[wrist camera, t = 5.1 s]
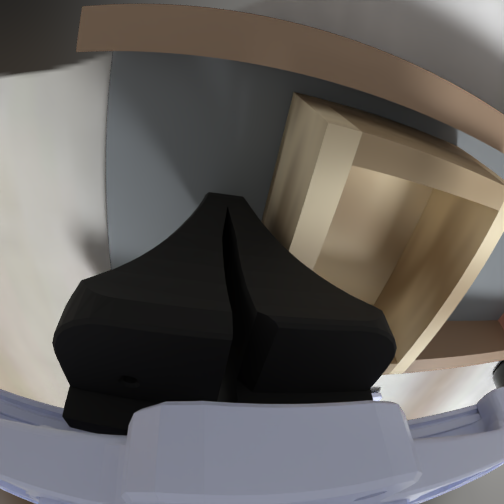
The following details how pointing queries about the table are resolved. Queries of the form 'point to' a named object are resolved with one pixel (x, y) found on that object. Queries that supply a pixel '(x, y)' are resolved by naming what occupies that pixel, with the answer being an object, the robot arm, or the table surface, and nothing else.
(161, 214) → the bay
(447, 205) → the crate
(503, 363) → the supplement bottle
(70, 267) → the table surface
